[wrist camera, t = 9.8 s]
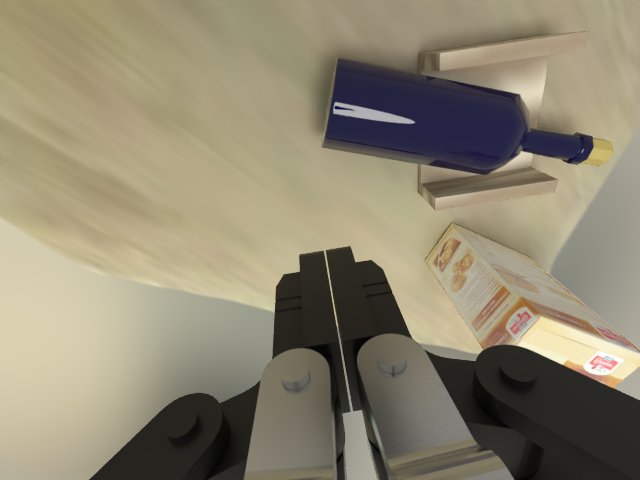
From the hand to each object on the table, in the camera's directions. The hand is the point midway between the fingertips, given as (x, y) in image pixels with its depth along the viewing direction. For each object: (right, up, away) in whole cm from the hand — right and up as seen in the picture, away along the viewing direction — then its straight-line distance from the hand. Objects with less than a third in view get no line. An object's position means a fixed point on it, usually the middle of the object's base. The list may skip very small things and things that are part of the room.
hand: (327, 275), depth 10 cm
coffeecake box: (+23, -2, +41) cm, 47 cm away
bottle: (0, +15, +25) cm, 29 cm away
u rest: (+18, +15, +31) cm, 39 cm away
